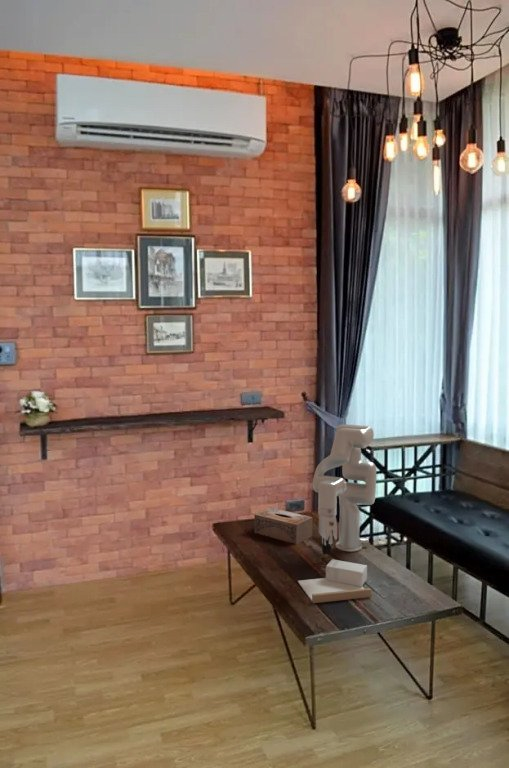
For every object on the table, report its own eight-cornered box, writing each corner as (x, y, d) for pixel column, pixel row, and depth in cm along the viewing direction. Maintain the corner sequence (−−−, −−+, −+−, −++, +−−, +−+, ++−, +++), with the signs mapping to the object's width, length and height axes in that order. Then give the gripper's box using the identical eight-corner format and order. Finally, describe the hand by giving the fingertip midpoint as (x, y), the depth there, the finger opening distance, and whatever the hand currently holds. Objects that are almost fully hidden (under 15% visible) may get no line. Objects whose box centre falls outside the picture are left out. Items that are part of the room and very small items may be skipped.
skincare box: (325, 579, 250) (361, 588, 243) (325, 564, 250) (361, 572, 242) (332, 572, 258) (367, 580, 251) (332, 557, 257) (368, 565, 250)
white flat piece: (351, 576, 255) (351, 569, 255) (371, 596, 236) (371, 589, 236) (297, 582, 249) (297, 575, 249) (313, 603, 231) (313, 595, 230)
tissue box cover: (312, 536, 304) (312, 517, 303) (296, 544, 293) (296, 524, 292) (270, 525, 319) (270, 507, 318) (254, 533, 308) (254, 514, 307)
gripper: (342, 515, 242) (341, 559, 244) (329, 504, 256) (328, 546, 258) (325, 517, 240) (324, 561, 242) (312, 506, 255) (312, 547, 257)
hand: (326, 553), depth 250 cm, fingers closed
